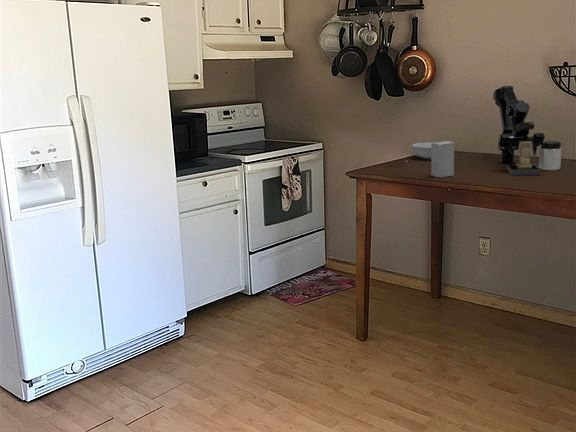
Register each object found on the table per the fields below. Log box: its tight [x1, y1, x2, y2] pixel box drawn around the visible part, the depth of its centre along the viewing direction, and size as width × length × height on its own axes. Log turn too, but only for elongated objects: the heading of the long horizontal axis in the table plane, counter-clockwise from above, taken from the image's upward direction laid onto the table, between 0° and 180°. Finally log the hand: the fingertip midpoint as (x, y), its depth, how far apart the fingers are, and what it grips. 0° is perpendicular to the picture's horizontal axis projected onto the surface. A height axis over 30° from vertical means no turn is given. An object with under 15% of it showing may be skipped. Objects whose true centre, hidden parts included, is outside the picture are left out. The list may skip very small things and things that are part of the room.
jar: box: [538, 140, 562, 171], centre depth 285 cm, size 9×8×12 cm
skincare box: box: [430, 140, 455, 178], centre depth 278 cm, size 8×6×15 cm
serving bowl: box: [411, 142, 433, 160], centre depth 327 cm, size 21×21×7 cm
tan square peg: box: [518, 141, 531, 165], centre depth 277 cm, size 4×4×13 cm
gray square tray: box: [506, 162, 542, 177], centre depth 279 cm, size 12×12×4 cm
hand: (524, 155), depth 278 cm, fingers open, 9 cm apart
